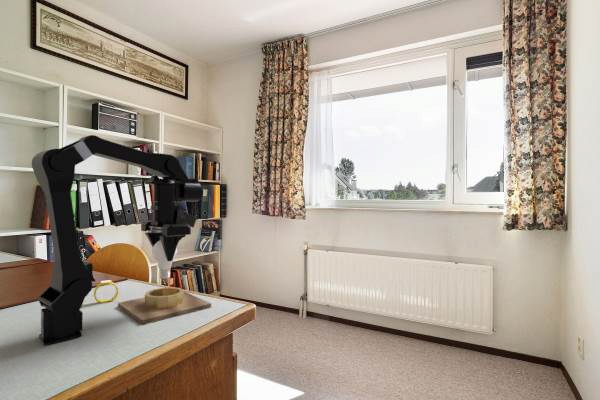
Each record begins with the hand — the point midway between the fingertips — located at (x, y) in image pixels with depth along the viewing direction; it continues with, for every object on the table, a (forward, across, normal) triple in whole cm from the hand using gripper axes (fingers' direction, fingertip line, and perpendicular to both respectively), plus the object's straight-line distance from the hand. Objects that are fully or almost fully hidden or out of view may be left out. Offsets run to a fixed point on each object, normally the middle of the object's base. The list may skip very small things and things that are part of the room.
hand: (164, 259), depth 89 cm
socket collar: (+13, +1, 0) cm, 13 cm away
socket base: (+13, +1, 0) cm, 13 cm away
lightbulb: (+6, 0, 0) cm, 6 cm away
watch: (+13, +17, +10) cm, 23 cm away
